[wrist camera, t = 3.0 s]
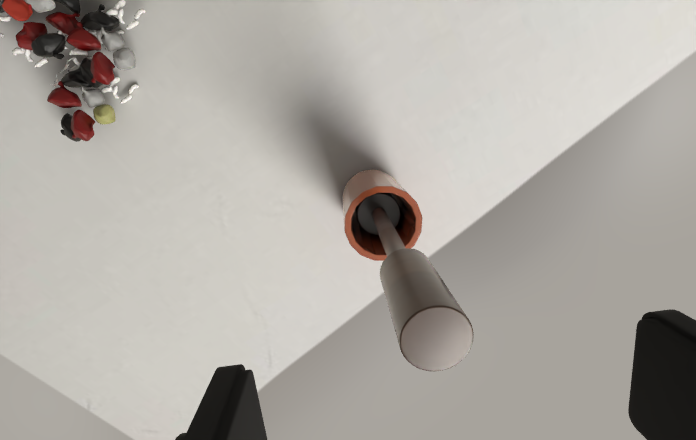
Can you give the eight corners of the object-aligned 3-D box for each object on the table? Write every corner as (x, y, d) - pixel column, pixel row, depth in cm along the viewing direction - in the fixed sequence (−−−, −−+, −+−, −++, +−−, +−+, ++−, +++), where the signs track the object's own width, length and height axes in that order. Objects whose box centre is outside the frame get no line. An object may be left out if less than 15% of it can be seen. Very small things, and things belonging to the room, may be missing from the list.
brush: (396, 190, 30) (506, 314, 11) (380, 222, 31) (457, 395, 11) (362, 175, 30) (413, 277, 10) (347, 209, 30) (369, 364, 11)
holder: (409, 183, 30) (435, 204, 23) (385, 234, 31) (401, 271, 24) (356, 160, 30) (364, 173, 22) (333, 213, 31) (332, 244, 23)
